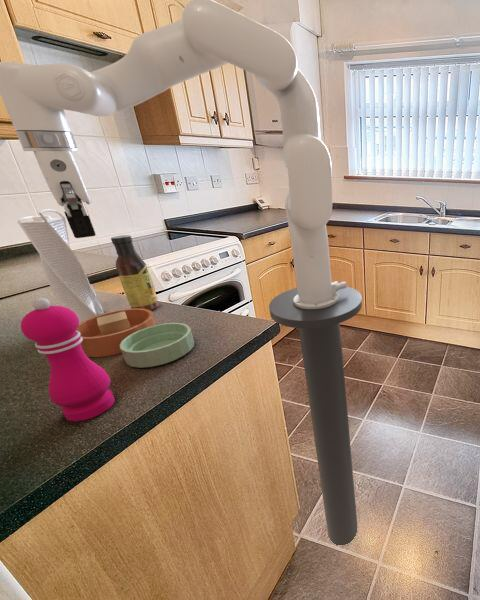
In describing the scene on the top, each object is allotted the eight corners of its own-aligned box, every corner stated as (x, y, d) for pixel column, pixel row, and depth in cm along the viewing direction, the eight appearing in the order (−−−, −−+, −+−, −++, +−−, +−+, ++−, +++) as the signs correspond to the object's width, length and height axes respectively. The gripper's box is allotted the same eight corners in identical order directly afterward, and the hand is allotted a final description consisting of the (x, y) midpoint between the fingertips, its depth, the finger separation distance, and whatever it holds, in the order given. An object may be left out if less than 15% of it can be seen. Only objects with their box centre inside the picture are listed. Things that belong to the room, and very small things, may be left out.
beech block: (131, 330, 80) (124, 311, 78) (134, 337, 76) (127, 318, 74) (104, 337, 77) (96, 317, 75) (106, 345, 73) (98, 325, 71)
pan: (152, 319, 86) (147, 303, 84) (163, 340, 76) (157, 322, 74) (77, 338, 77) (69, 321, 75) (79, 365, 67) (70, 346, 65)
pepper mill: (53, 415, 54) (-8, 303, 46) (104, 389, 60) (58, 286, 52) (75, 430, 52) (14, 313, 43) (127, 401, 57) (82, 293, 49)
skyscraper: (113, 321, 85) (69, 207, 74) (71, 333, 79) (16, 212, 68) (103, 312, 90) (59, 204, 78) (63, 323, 84) (9, 209, 72)
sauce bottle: (161, 309, 91) (138, 236, 83) (133, 316, 88) (106, 241, 80) (157, 301, 96) (134, 232, 88) (130, 308, 92) (104, 236, 84)
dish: (187, 332, 79) (183, 317, 78) (201, 353, 71) (196, 337, 69) (123, 351, 72) (116, 335, 70) (130, 377, 64) (123, 359, 62)
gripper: (78, 142, 60) (112, 237, 67) (72, 143, 71) (101, 224, 78) (18, 141, 55) (60, 243, 62) (21, 143, 66) (57, 229, 73)
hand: (83, 233), depth 70 cm, fingers open, 9 cm apart
